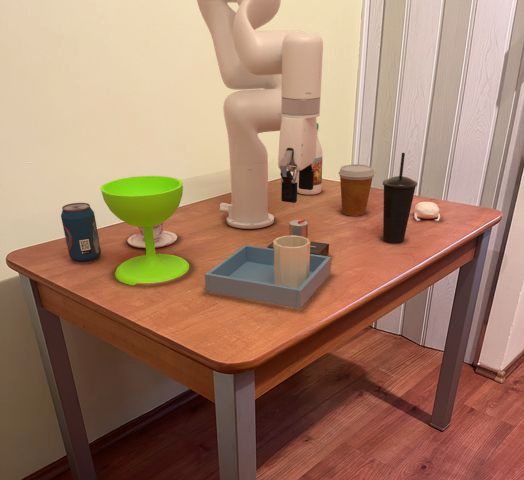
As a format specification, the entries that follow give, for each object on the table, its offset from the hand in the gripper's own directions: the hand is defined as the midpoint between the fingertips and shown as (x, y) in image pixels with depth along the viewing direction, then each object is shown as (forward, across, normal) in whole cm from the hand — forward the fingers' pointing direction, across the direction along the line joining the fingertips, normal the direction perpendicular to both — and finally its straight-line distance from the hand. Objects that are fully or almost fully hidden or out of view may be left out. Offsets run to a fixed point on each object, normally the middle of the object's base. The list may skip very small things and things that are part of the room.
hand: (297, 195), depth 113 cm
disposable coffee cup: (+15, -37, +3) cm, 40 cm away
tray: (+13, +16, +1) cm, 21 cm away
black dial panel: (+14, +1, +1) cm, 14 cm away
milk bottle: (+16, -53, -16) cm, 57 cm away
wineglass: (+14, +19, -25) cm, 35 cm away
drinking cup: (+14, -19, +18) cm, 29 cm away
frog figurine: (+14, -40, +22) cm, 48 cm away
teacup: (+15, +3, -36) cm, 39 cm away
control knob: (+11, +1, +1) cm, 11 cm away
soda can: (+15, +19, -43) cm, 50 cm away
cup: (+13, +16, +5) cm, 21 cm away
